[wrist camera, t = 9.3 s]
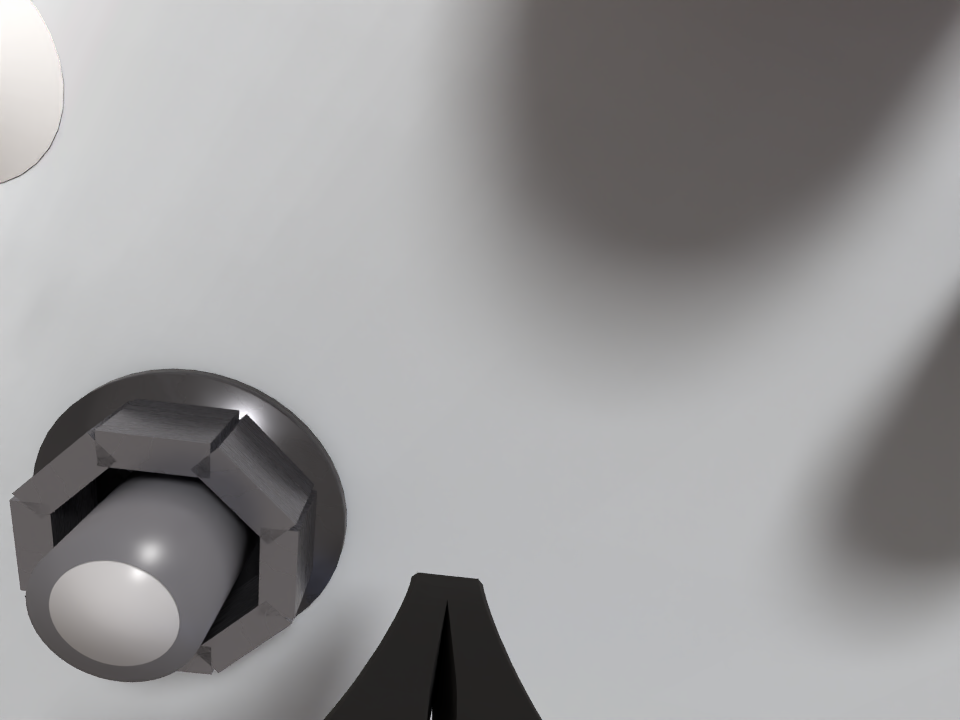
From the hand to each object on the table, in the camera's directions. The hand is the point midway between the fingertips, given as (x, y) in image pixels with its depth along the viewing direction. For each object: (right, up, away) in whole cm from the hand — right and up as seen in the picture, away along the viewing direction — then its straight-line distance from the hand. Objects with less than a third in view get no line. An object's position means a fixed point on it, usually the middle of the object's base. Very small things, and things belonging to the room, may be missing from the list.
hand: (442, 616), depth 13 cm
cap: (-10, 0, +10) cm, 14 cm away
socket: (-10, 0, +11) cm, 14 cm away
